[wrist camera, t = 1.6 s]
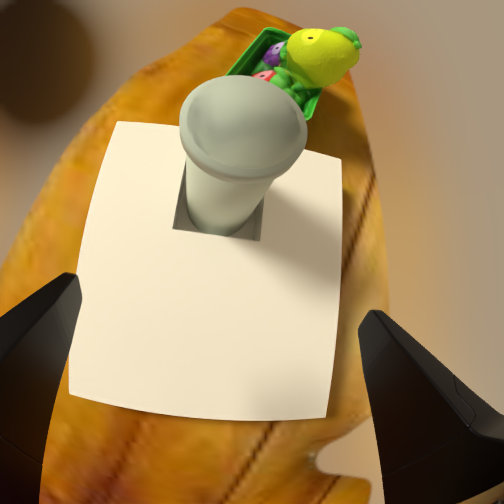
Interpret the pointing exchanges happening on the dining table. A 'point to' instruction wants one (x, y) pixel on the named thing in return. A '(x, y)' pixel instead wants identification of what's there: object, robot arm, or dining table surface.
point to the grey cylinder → (236, 148)
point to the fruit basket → (300, 61)
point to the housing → (207, 290)
